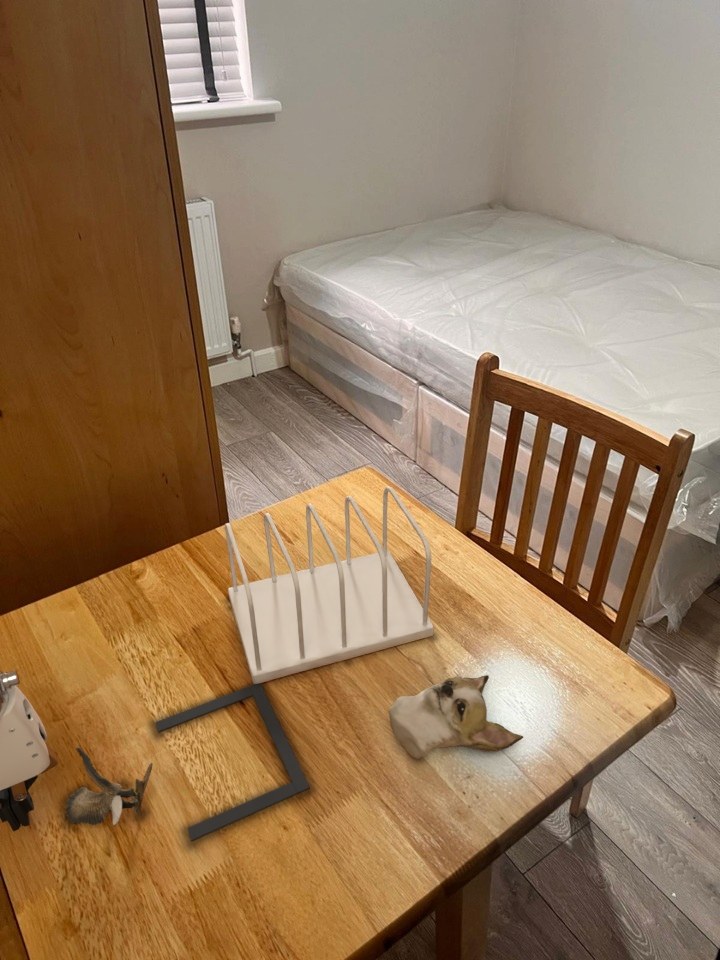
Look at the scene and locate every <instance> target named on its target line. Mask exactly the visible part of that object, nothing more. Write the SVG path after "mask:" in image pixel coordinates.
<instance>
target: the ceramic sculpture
mask: <svg viewBox="0 0 720 960" xmlns="http://www.w3.org/2000/svg"><path fill="white" fill-rule="evenodd" d="M489 678H490V676H489V674H488V675H487V674H485V675H481V676H478V677H466V676H465V677H462V676H454V677H452V678H451V677H450V678H447V679H446V680H444V681H442V682H441V683H436V684H432V685H430V686H429V687H427V688H425V689H423V690H422V691H421V692H419V693H416V695H401V696H398V697H397V698H396V700H395V701H394V702H393V703H392V705H391V706H390V708H389V709H388V715H389V716H388V717H389V718H388V719H389V725H390V728H391V731H392V733H393V735H394V737H395V738H396V739H397V740H398V741H399V743H400V745H401V746H402V747H403V748H404V749H405V750H406V751H407V753H408V754H409V755H410V756H411V757H412V758H413V759H416V760H417V759H421V758H423V757H425V756H426V755H427V754H428V753H429V752H430V751H431V750H433V749H441V748H445V747H457V746H465V747H467V748H472V749H475V750H477V751H481V752H488V753H492V752H493V753H494V752H500V751H502V750H506V749H508V748H509V747H512V746H514V745H515V744H517V743H518V742H519V741H521V740H522V739H524V736H523V735H521V734H518V733H514V732H512V731H511V730H509V729H507V728H505V726H504V725H501V724H499V723H497V722H493V721H488V720H487V717H488V716H487V715H488V710H487V703H486V700H485V699H484V696H483V692H484V690H485V687H486V684H487V683H488V681H489Z"/></svg>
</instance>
